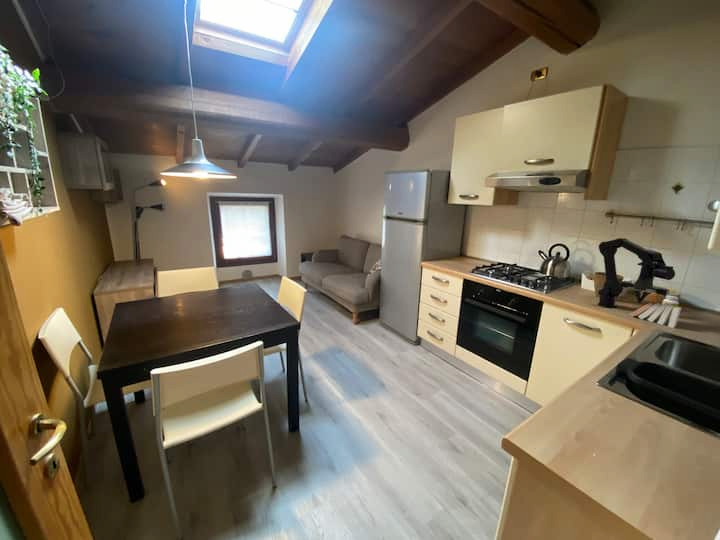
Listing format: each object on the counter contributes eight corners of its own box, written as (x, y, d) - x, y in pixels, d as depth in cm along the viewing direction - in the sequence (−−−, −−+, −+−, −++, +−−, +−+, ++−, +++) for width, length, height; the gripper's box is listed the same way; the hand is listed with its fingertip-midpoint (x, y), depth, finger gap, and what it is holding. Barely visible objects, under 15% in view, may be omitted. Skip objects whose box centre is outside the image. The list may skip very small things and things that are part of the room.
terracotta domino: (628, 314, 160) (647, 303, 153) (632, 312, 162) (650, 302, 156) (632, 317, 159) (651, 307, 152) (635, 315, 161) (654, 305, 155)
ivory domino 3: (657, 323, 151) (666, 306, 147) (659, 321, 153) (669, 304, 150) (662, 325, 149) (672, 307, 145) (665, 323, 152) (674, 306, 148)
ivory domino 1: (637, 316, 157) (654, 304, 151) (640, 315, 159) (657, 302, 153) (641, 319, 155) (658, 307, 149) (644, 318, 158) (661, 305, 152)
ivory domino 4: (667, 326, 147) (673, 307, 145) (670, 324, 150) (675, 306, 148) (673, 327, 146) (679, 309, 143) (676, 326, 148) (681, 307, 146)
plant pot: (586, 297, 193) (591, 273, 189) (592, 293, 202) (597, 270, 199) (615, 303, 182) (621, 278, 178) (620, 299, 191) (626, 275, 188)
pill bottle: (678, 317, 160) (683, 298, 158) (664, 316, 162) (670, 297, 159) (668, 313, 166) (674, 295, 164) (656, 312, 167) (661, 294, 165)
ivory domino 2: (647, 319, 154) (661, 305, 149) (650, 318, 156) (663, 303, 151) (651, 322, 152) (665, 307, 147) (654, 320, 155) (668, 305, 150)
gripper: (619, 272, 157) (612, 300, 161) (667, 281, 142) (658, 311, 146) (626, 270, 163) (619, 297, 167) (673, 278, 148) (665, 307, 152)
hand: (639, 303), depth 158 cm, fingers closed
